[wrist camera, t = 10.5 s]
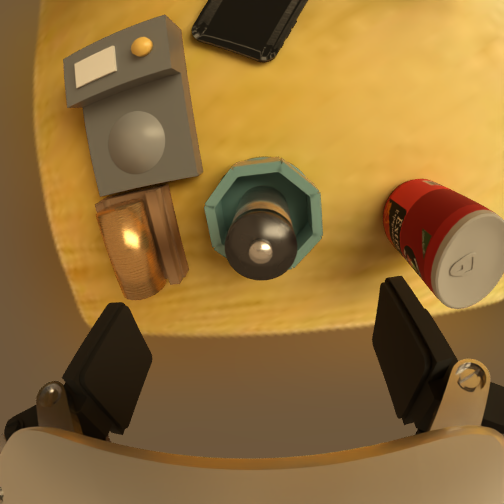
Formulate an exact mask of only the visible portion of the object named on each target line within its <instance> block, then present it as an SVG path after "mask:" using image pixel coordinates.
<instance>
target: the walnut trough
mask: <svg viewBox="0 0 504 504" xmlns="http://www.w3.org/2000/svg"><path fill="white" fill-rule="evenodd" d="M138 198H141V199H143V202H144V206H145V210H146V214H147V218H148V221H149V225H150V229H151V233H152V236H153V240H154V243H155V247H156V250H157V254H158V257H159V261H160V264H161V267H162V270H163V274H164V277H165V279H169V282H170V284H180V282H181V280H182V278H183V277H185V276H186V274H187V272H188V270H189V268H188V264H187V261H186V257H185V253H184V249H183V245H182V241H181V237H180V233H179V229H178V225H177V220H176V216H175V212H174V208H173V203H172V199H171V194H170V189H169V185H168V184H164V185H159V186H154V187H149V188H145V189H140V190H136V191H131V192H127V193H122V194H118V195H114V196H110V197H107V198H105V199H103V200H101V201H100V202H99V203H97V204H95V207H96V211H97V213H98V212H99V211H101V210H102V209H104V208H106V207H109V206H111V205H114V204H117V203H120V202H123V201H127V200H131V199H138Z"/></svg>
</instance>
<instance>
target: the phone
mask: <svg viewBox="0 0 504 504" xmlns="http://www.w3.org/2000/svg"><path fill="white" fill-rule="evenodd" d="M307 1H308V0H208V2H207V3H206V5H205V7H204V8H203V10H202V11H201V13H200V15H199V17H198V18H197V20H196V22H195V23H194V25H193V28H192V34H193V36H194V37H195V38H196V39H197V40H198V41H200V42H203V43H206V44H210V45H213V46H216V47H219V48H222V49H225V50H228V51H231V52H234V53H237V54H240V55H243V56H245V57H248V58H251V59H253V60H256V61H259V62H269V61H271V60H273V59H274V58H275V57H276V55H277V53H278V52H279V50H280V48H282V46H283V44H284V41H285V39H286V38H287V37H288V36H289V34H290V32H291V28H293V27H294V25H295V24H296V22H297V21H296V20H297V18H298V16H299V15H300V13H301V11H302V9H303V8H304V6H305V4H306V3H307Z"/></svg>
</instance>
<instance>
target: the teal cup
mask: <svg viewBox="0 0 504 504" xmlns="http://www.w3.org/2000/svg"><path fill="white" fill-rule="evenodd" d="M261 185H265V186H270V187H273V188H275V189H277V190H279V191H280V192H281V193H282V194H283V195H284V197H285V199H286V201H287V204H288V208H289V212H290V217H291V221H292V226H293V229H294V232H295V236H296V240H297V255H296V258H295V261H294V263H293V264H292V267H293V268H295V267H296V265H297V264H298V263H299V262H300V261H301V260H302V259H303V258H304V257H305V256H306V255H307V254H308V253H309V252H310V250H311V249H312V248H313V247H314V246H315V245H316V244H317V243H318V242H319V241H320V240H321V238H322V237H321V236H323V229H322V210H321V195H320V192H319V190H318V189H317V187H316V186H315V185H314V183H313V182H311V181H310V180H309V179H308V178H306V176H305V175H304V174H303V173H302V172H301V171H300V170H299V169H298V168H297V167H295V166H294V165H292V164H291V163H289V162H287V161H285V160H284V159H283V158H280V159H279V157H256V158H251V159H248V160H245V161H241V162H237V163H235V164H234V165H233V166H232V168H231V169H230V170H229V171H228V172H227V174H226V175H225V176H224V177H223V178H222V180H221V181H220V183H219V185H218V186H217V188H216V189H215V191H214V192H213V193H212V195H211V196H210V197H209V199H208V200H207V202H206V203H205V206H204V209H205V214H206V219H207V224H208V228H209V233H210V238H211V243H212V247H215V248H214V250H215V251H217V252H218V253H220V254H221V255H223V256H224V257H226V254H225V240H226V236H227V233H228V230H229V228H230V226H231V224H232V221H233V218H234V215H235V213H236V210H237V207H238V204H239V201H240V199H241V197H242V196H243V194H244V193H245V192H246V191H248V190H249V189H251V188H253V187H256V186H261ZM292 267H290V268H289V269H292ZM289 269H288V270H289Z"/></svg>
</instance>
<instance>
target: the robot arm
mask: <svg viewBox="0 0 504 504" xmlns="http://www.w3.org/2000/svg"><path fill="white" fill-rule="evenodd" d="M372 342H373V347H374V350H375V352H376V355H377V357H378V360H379V363H380V366H381V369H382V372H383V375H384V378H385V381H386V384H387V387H388V390H389V393H390V396H391V399H392V402H393V405H394V409H395V412H396V415H397V417H398V418H402V420H403V423H404V425H406V424H409V423H413V422H414V423H415V426H416V428H417V431H416V433H415V435H413V436H408V437H404V438H401V439H397V440H393V441H389V442H385V443H380V444H377V445H371V446H366V447H361V448H356V449H350V450H345V451H339V452H332V453H326V454H318V455H309V456H299V457H285V458H265V459H264V458H262V459H230V458H229V459H228V458H210V457H196V456H186V455H178V454H170V453H163V452H156V451H150V450H144V449H138V448H134V447H129V446H124V445H119V444H116V443H112V442H111V441H110V438H109V436H108V433H109V431H111V432H112V433H116V434H121V435H123V433H124V430H125V429H126V428H128V426H129V424H130V421H131V418H132V415H133V412H134V409H135V406H136V404H137V401H138V398H139V395H140V392H141V389H142V387H143V384H144V381H145V379H146V376H147V373H148V370H149V368H150V365H151V363H152V354H151V352H150V350H149V348H148V346H147V344H146V342H145V340H144V338H143V336H142V334H141V332H140V330H139V328H138V326H137V324H136V322H135V320H134V318H133V315H132V313H131V311H130V309H129V307H128V306H126V305H125V304H124V303H122V302H118V303H109V304H108V305H107V306H106V308H105V309H104V311H103V312H102V314H101V315H100V317H99V318H98V320H97V321H96V323H95V324H94V326H93V327H92V329H91V331H90V332H89V334H88V335H87V337H86V338H85V340H84V342H83V343H82V345H81V346H80V348H79V350H78V351H77V353H76V354H75V356H74V358H73V360H72V361H71V363H70V364H69V366H68V368H67V370H66V371H65V373H64V375H63V377H62V378H63V379H64V381H65V382H66V383H65V384H64V385H63V384H62V383H61V382H59V381H51V382H48V383H46V384H45V385H44V386H43V387H41V389H40V390H39V392H38V394H37V396H36V405H35V406H33V407H31V408H29V409H27V410H25V411H24V412H22V413H20V414H18V415H16V416H14V417H12V418H11V419H10V420H9V421H8V422H7V424H6V426H5V432H4V434H1V435H0V504H504V387H502V386H500V385H497V384H495V383H492V382H490V374H489V371H488V369H487V368H486V367H485V366H484V365H483V364H482V363H481V362H479V361H477V360H474V359H463V360H461V361H459V362H458V360H457V358H456V356H455V355H454V353H453V351H452V349H451V348H450V346H449V344H448V343H447V341H446V339H445V337H444V336H443V334H442V333H441V331H440V330H439V328H438V326H437V324H436V323H435V321H434V320H433V318H432V317H431V315H430V313H429V312H428V311H427V310H426V309H425V308H423V306H422V305H421V303H420V302H419V300H418V299H417V297H416V296H415V294H414V293H413V291H412V290H411V288H410V287H409V285H408V284H407V282H406V281H405V280H404V278H403V277H402V276H396V277H389V278H386V280H385V282H384V283H381V286H380V293H379V300H378V307H377V314H376V320H375V326H374V332H373V338H372Z"/></svg>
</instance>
